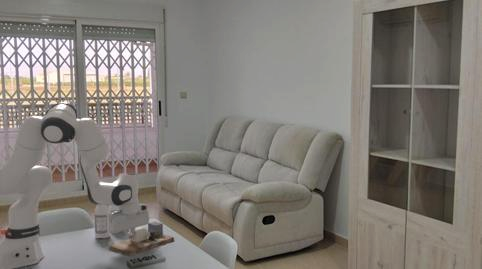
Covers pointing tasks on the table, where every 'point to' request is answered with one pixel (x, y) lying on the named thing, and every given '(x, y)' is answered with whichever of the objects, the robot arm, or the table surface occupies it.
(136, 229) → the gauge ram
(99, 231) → the bath foam
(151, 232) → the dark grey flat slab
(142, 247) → the wooden tray
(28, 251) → the robot arm
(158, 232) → the dark grey cube
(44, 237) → the table surface
